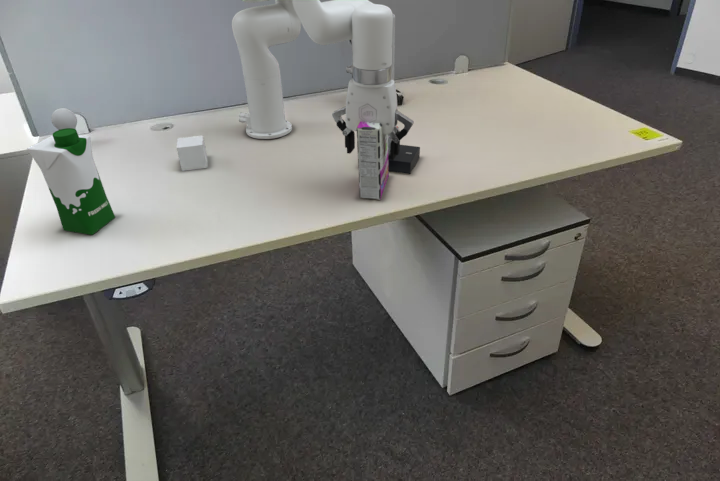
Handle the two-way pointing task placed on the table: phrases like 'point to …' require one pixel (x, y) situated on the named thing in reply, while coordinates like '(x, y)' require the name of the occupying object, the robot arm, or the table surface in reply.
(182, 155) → the white cube
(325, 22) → the robot arm
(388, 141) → the tap handle
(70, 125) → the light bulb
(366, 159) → the candy bar box
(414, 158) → the panel
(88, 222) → the milk carton
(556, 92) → the table surface
